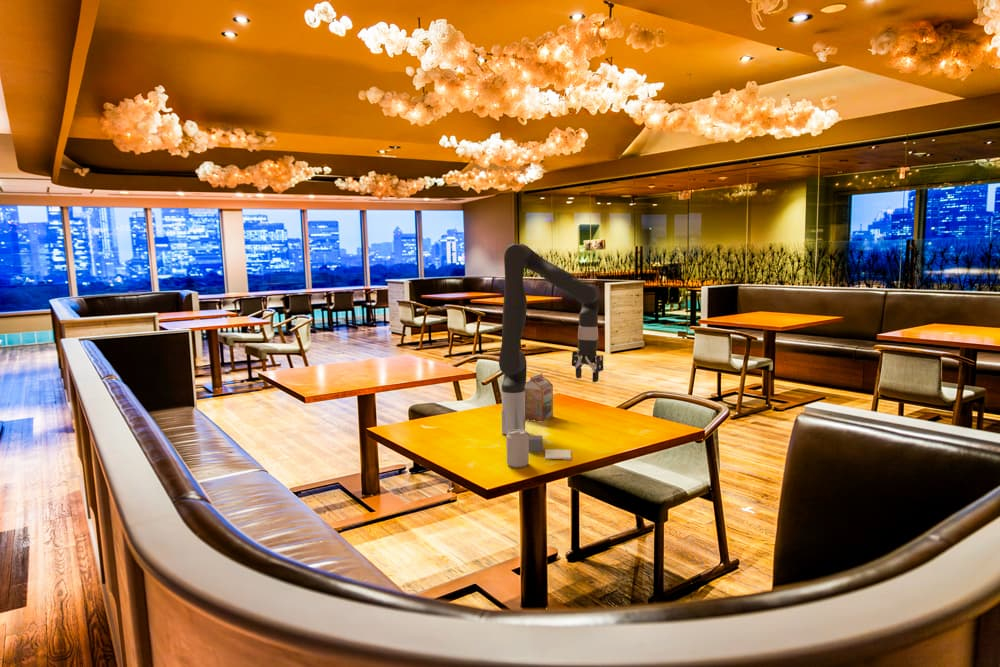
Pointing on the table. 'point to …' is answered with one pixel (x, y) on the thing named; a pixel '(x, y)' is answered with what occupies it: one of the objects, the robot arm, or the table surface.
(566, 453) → the mat
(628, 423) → the table surface
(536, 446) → the cube
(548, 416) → the milk carton
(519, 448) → the can
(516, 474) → the table surface
